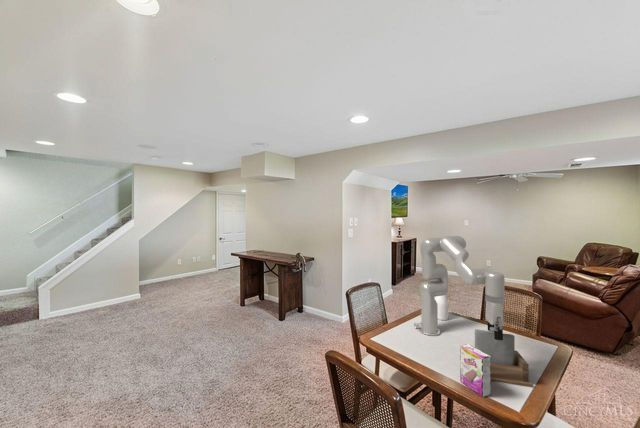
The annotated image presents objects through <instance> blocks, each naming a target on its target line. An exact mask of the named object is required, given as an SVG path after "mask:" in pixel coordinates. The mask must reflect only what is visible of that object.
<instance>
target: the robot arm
mask: <svg viewBox="0 0 640 428" xmlns="http://www.w3.org/2000/svg"><path fill="white" fill-rule="evenodd" d="M466 246H467V241H466V240H465V238H463V236H460V235H448V236H443V237H433V238H432V237H431V238H425V239H423V240H422V241H421V243H420V245H419V250H420V255H421V274H422V278H423V279H425V280H427V281H424V282H421V284H420V285H419V293H420V300H421V301H420V306H421V309H420V310H421V314H420V316H421V321H420V322H419V323H418V322H414V323H413V326H414V327H416V328H418V331H419V332H420V333H421V334H423V335H426V336H431V337H435V336H439V335H441V330H440V329H439V328H438V327H439V325H438V324H439V323H438V321H439V320H438V306H437V302H436V300H435V297H436V296H443V295H446V296H447V294H448V290H449V275H448V274H449V273H448V269H447V267H446V266H445V265H444V264H443V263H437V257H436V255H435V253H440V252H441V253H443V252H445V253H446V254H447V255H448V256H449V257H450V258H451V260H452V261H453V262H454V268H455V272H456V274H457V275H458V276H459V278H461V279H462V281H463V282H464V283H466V284H467V285H470V286H476V285H485V287H484V288H485V291H484V292H485V294H484V295H485V297H484V298H485V319H486V321H487V331H490V327H495V330H494V339H495V340H503V334H504V323H505V322H504V320H505V319H504V305H505V299H506V298H505V297H506V296H505V290H506V289H505V275H504V273H502V272H498V271H494V270H491V269H488V268H484V267H483V268H470V267H469V266H468V265H467V264H466V263H465V262H466V261H467V260H468V259H469V256H470V253H469V251H467V249H466ZM429 280H430V281H429Z"/></svg>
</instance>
